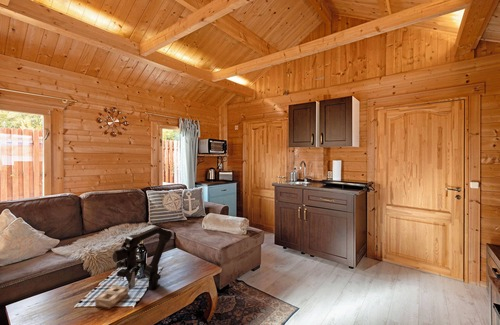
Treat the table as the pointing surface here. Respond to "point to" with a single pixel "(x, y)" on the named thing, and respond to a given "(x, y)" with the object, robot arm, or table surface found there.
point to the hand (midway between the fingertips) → (131, 280)
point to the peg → (132, 280)
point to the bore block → (111, 297)
